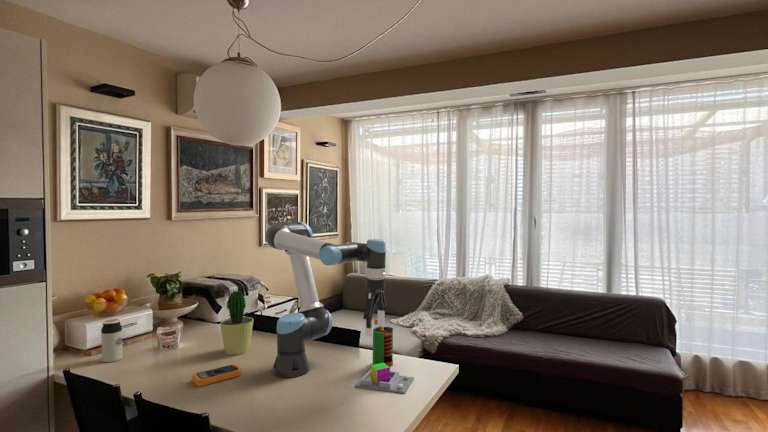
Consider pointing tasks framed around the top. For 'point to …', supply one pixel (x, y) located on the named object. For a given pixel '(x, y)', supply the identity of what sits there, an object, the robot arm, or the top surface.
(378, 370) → the puzzle toy
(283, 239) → the robot arm
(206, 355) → the top surface
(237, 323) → the potted cactus
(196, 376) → the multimeter
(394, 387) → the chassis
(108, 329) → the travel mug
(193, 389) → the top surface
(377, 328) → the motor
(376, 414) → the top surface
